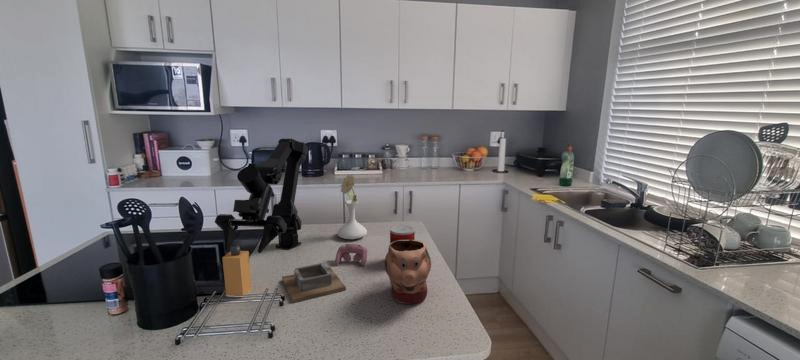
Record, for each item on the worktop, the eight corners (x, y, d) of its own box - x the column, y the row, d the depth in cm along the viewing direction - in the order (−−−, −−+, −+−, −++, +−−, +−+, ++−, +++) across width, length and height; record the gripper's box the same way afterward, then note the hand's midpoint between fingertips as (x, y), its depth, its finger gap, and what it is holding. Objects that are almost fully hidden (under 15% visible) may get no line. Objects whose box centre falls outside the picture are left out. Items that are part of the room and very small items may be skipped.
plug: (235, 288, 98) (231, 243, 96) (251, 289, 98) (248, 244, 95) (226, 297, 94) (221, 250, 91) (243, 298, 93) (239, 250, 91)
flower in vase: (336, 232, 142) (334, 170, 137) (364, 230, 145) (363, 169, 140) (338, 244, 130) (336, 176, 125) (370, 242, 132) (369, 175, 128)
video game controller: (367, 266, 116) (368, 244, 118) (365, 266, 111) (366, 243, 113) (337, 265, 117) (339, 243, 118) (333, 264, 112) (335, 242, 114)
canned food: (417, 258, 118) (417, 226, 116) (409, 268, 111) (410, 234, 109) (395, 255, 121) (395, 223, 119) (386, 264, 114) (386, 231, 111)
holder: (282, 280, 103) (281, 267, 102) (329, 270, 110) (329, 257, 109) (293, 303, 91) (292, 288, 90) (345, 290, 98) (345, 276, 97)
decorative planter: (381, 277, 105) (380, 231, 103) (422, 274, 107) (422, 229, 104) (389, 315, 86) (389, 260, 83) (439, 311, 88) (440, 257, 85)
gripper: (215, 186, 100) (193, 237, 91) (280, 187, 98) (265, 240, 90) (232, 206, 109) (214, 255, 100) (292, 208, 108) (279, 257, 99)
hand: (242, 251), depth 97 cm, fingers open, 9 cm apart
